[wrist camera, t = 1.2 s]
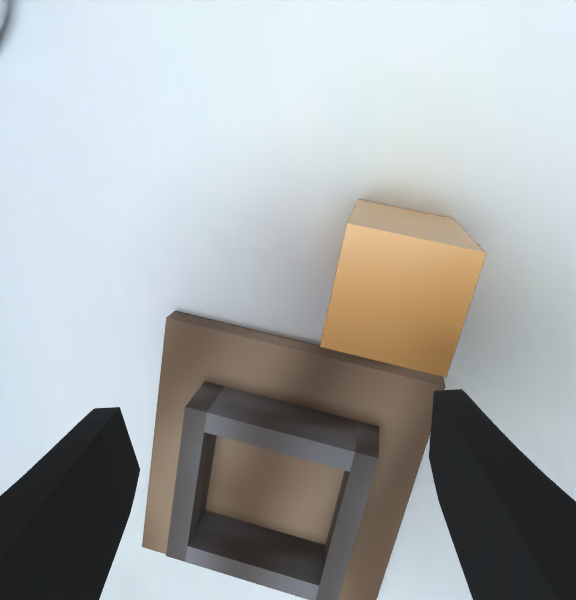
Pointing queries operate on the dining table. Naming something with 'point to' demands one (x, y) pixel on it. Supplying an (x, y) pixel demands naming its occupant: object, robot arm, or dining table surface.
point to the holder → (282, 458)
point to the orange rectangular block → (402, 287)
